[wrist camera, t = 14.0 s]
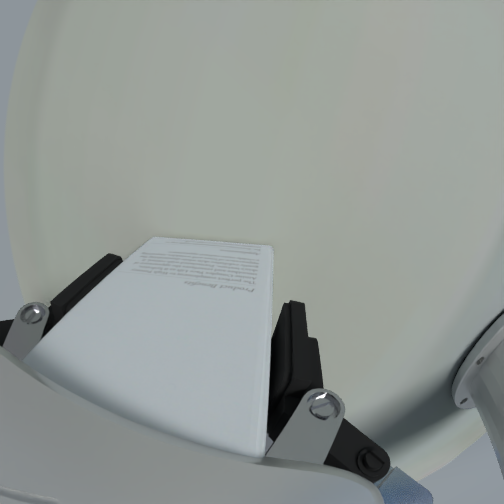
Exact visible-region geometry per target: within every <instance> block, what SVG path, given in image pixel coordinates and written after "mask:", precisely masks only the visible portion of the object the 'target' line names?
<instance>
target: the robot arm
mask: <svg viewBox="0 0 504 504" xmlns="http://www.w3.org/2000/svg"><path fill="white" fill-rule="evenodd" d="M122 262H123V261H122V258H121V257H120V256H117V255H114V254H110V253H109V254H107V255H106V256H104V257H103V258H102V259H100V260H99V261H98V262H97V263H95V264H94V265H93V266H92V267H90V268H89V269H88V270H87V271H86V272H84V273H83V274H82V275H81V276H79V277H78V278H77V279H76V280H75V281H73V282H72V283H71V284H70V285H69V286H68V287H66V288H65V289H64V290H63V291H62V292H61V293H60V294H58V295H57V296H56V297H55V298H54V299H53V300H52V301H50V302H51V306H50V307H49V308H48V307H47V306H46V305H44V304H43V303H39V302H32V303H28V304H26V305H24V306H23V307H22V308H20V310H19V311H18V313H17V315H16V317H15V319H13V320H5V321H0V504H433V497H432V494H431V493H430V492H429V491H428V490H427V489H426V488H424V487H423V486H422V485H420V484H419V483H418V482H416V481H415V480H414V479H412V478H411V477H410V476H408V475H407V474H406V473H404V472H403V471H402V470H400V469H399V468H398V467H397V466H396V467H395V468H393V467H391V466H390V458H389V456H388V454H387V453H386V452H385V451H384V450H383V449H382V448H381V447H380V446H378V445H377V444H376V443H374V442H373V441H372V440H371V439H369V438H368V437H367V436H365V435H364V434H363V433H362V432H360V431H359V430H358V429H357V428H355V427H354V426H353V425H352V424H351V423H349V422H348V421H347V420H346V419H344V418H343V417H344V414H345V406H344V403H343V401H342V399H341V398H340V397H339V396H338V395H337V394H335V393H334V392H332V391H330V390H327V389H324V388H323V379H322V371H321V362H320V355H319V347H318V341H317V339H316V338H311V337H308V331H307V321H306V312H305V304H304V303H301V302H297V301H292V300H290V302H289V303H284V304H283V307H282V310H281V313H280V316H279V319H278V322H277V325H276V327H275V330H274V333H273V336H272V339H271V353H270V377H269V397H268V414H267V431H266V433H267V434H268V437H269V438H270V439H271V440H272V441H273V443H272V445H271V446H270V447H269V449H268V450H267V452H266V453H265V456H264V457H262V458H254V457H249V456H244V455H240V454H235V453H231V452H227V451H223V450H220V449H216V448H212V447H209V446H206V445H202V444H199V443H196V442H193V441H190V440H186V439H183V438H180V437H176V436H173V435H170V434H167V433H164V432H161V431H158V430H155V429H152V428H149V427H147V426H144V425H141V424H139V423H136V422H133V421H131V420H128V419H126V418H124V417H121V416H119V415H117V414H114V413H112V412H110V411H108V410H105V409H103V408H101V407H99V406H97V405H95V404H93V403H91V402H89V401H87V400H85V399H83V398H81V397H79V396H77V395H76V394H74V393H72V392H70V391H68V390H66V389H65V388H63V387H61V386H59V385H58V384H56V383H54V382H53V381H51V380H50V379H48V378H46V377H45V376H43V375H42V374H40V373H39V372H37V371H35V370H34V369H32V368H31V367H30V366H28V365H27V364H25V363H24V362H22V360H23V359H24V358H25V357H26V356H27V355H28V353H29V352H30V351H31V350H32V349H33V348H34V347H35V346H36V345H37V344H38V343H39V342H40V340H41V339H42V338H43V337H44V336H45V335H46V334H47V333H48V332H49V331H50V330H51V329H52V328H53V327H54V326H55V325H56V324H57V323H58V322H59V321H60V320H61V319H62V318H63V317H64V316H65V315H66V314H67V313H68V312H69V311H70V310H71V309H72V308H73V307H74V306H75V305H76V304H77V303H78V302H79V301H80V300H81V299H83V298H84V297H85V296H86V295H87V294H88V293H89V292H90V291H91V290H92V289H93V288H94V287H95V286H96V285H98V284H99V283H100V282H101V281H102V280H103V279H104V278H105V277H106V276H107V275H109V274H110V273H111V272H112V271H113V270H114V269H115V268H116V267H118V266H119V265H120V264H121V263H122ZM451 394H452V397H453V400H454V402H455V404H456V406H457V407H459V408H461V409H471V408H475V407H476V408H477V410H478V412H479V414H480V416H481V419H482V421H483V423H484V426H485V428H486V430H487V432H488V435H489V438H490V440H491V443H492V446H493V448H494V451H495V454H496V457H497V460H498V463H499V465H500V469H501V472H502V475H503V479H504V313H503V314H502V315H501V316H500V317H499V318H498V319H497V320H496V321H495V322H494V324H493V325H492V326H491V327H490V328H489V329H488V330H487V331H486V332H485V334H484V335H483V336H482V337H481V339H480V340H479V341H478V342H477V343H476V345H475V346H474V348H473V349H472V350H471V352H470V353H469V354H468V356H467V357H466V359H465V361H464V362H463V364H462V365H461V367H460V369H459V371H458V373H457V375H456V377H455V379H454V382H453V385H452V392H451Z"/></svg>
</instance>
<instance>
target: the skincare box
mask: <svg viewBox="0 0 504 504" xmlns="http://www.w3.org/2000/svg"><path fill="white" fill-rule="evenodd" d="M273 260H274V249H273V247H272V246H269V245H257V244H244V243H231V242H219V241H206V240H193V239H179V238H166V237H152V238H151V239H149V240H148V241H147V242H146V243H145V244H143V245H142V246H141V247H140V248H138V249H137V250H136V251H135V252H134V253H132V254H131V255H130V256H129V257H128V258H127V259H125V260H124V261H123V262H122V263H121V264H120V265H119V266H118V267H116V268H115V269H114V270H113V271H112V272H111V273H110V274H109V275H107V276H106V277H105V278H104V279H103V280H102V281H101V282H100V283H99V284H98V285H96V286H95V287H94V288H93V289H92V290H91V291H90V292H89V293H88V294H87V295H86V296H85V297H84V298H83V299H81V300H80V301H79V302H78V303H77V304H76V305H75V306H74V307H73V308H72V309H71V310H70V311H69V312H68V313H67V314H66V315H65V316H64V317H63V318H62V319H61V320H60V321H59V322H58V323H57V324H56V325H55V326H54V327H53V328H52V329H51V330H50V331H49V332H48V333H47V334H46V335H45V336H44V337H43V338H42V339H41V340H40V342H39V343H38V344H37V345H36V346H35V347H34V348H33V349H32V350H31V351H30V352H29V353H28V355H27V356H26V357H25V358H24V359H23V360H22V362H24V363H25V364H27V365H28V366H30V367H31V368H32V369H34V370H35V371H37V372H39V373H40V374H42V375H43V376H45V377H46V378H48V379H50V380H51V381H53V382H54V383H56V384H58V385H59V386H61V387H63V388H65V389H66V390H68V391H70V392H72V393H74V394H76V395H77V396H79V397H81V398H83V399H85V400H87V401H89V402H91V403H93V404H95V405H97V406H99V407H101V408H103V409H105V410H108V411H110V412H112V413H114V414H117V415H119V416H121V417H124V418H126V419H128V420H131V421H133V422H136V423H139V424H141V425H144V426H147V427H149V428H152V429H155V430H158V431H161V432H164V433H167V434H170V435H173V436H176V437H180V438H183V439H186V440H190V441H193V442H196V443H199V444H202V445H206V446H209V447H212V448H216V449H220V450H223V451H227V452H231V453H235V454H240V455H244V456H249V457H254V458H262V457H264V456H265V446H266V431H267V414H268V397H269V377H270V353H271V328H272V296H273Z"/></svg>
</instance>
